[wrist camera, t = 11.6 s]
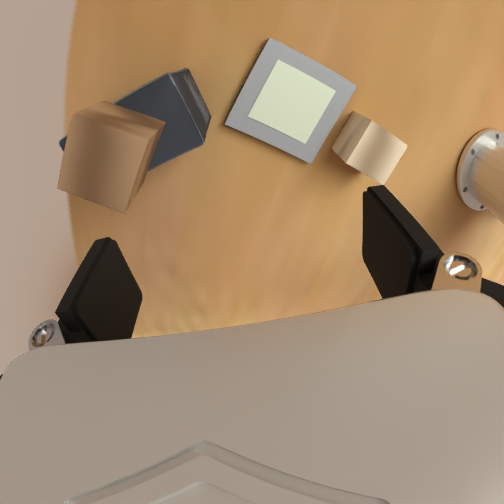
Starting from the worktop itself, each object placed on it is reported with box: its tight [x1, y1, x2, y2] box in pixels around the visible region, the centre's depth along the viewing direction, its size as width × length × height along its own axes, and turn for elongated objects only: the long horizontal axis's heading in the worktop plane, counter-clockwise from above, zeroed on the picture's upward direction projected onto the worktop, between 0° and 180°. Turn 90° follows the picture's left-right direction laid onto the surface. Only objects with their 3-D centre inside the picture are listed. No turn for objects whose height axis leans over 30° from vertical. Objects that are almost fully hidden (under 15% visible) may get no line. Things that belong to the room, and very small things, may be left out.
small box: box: [59, 68, 211, 171], centre depth 24 cm, size 11×6×10 cm, turn 112°
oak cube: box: [331, 111, 408, 185], centre depth 29 cm, size 5×5×5 cm
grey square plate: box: [225, 38, 357, 164], centre depth 28 cm, size 10×10×1 cm
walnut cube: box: [58, 101, 166, 214], centre depth 18 cm, size 5×5×5 cm
